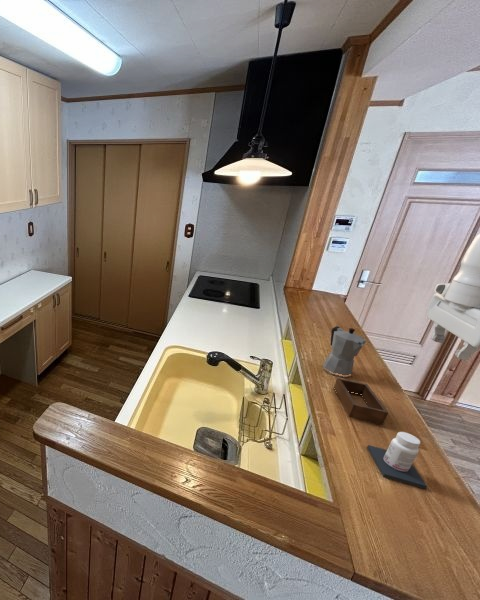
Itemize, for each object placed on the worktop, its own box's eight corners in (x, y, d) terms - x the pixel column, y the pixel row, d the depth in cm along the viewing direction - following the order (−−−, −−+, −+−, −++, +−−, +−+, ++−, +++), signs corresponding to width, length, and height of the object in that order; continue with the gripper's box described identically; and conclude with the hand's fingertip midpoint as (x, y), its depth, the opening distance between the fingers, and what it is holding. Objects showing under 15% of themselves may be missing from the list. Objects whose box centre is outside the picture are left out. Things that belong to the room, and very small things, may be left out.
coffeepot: (361, 382, 116) (380, 338, 110) (334, 380, 117) (351, 335, 111) (334, 360, 130) (349, 319, 124) (310, 358, 131) (323, 317, 125)
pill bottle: (412, 469, 79) (427, 442, 76) (402, 474, 77) (416, 447, 74) (389, 454, 83) (402, 428, 80) (378, 459, 81) (391, 433, 79)
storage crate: (362, 395, 109) (367, 384, 107) (383, 425, 95) (388, 412, 94) (333, 388, 112) (337, 377, 110) (348, 416, 98) (353, 404, 96)
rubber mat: (404, 457, 84) (405, 454, 83) (425, 489, 75) (427, 486, 75) (366, 447, 86) (368, 444, 86) (383, 476, 78) (384, 473, 77)
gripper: (532, 314, 64) (497, 374, 69) (464, 286, 82) (440, 335, 87) (489, 308, 66) (458, 366, 71) (432, 282, 84) (410, 330, 89)
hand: (447, 349), depth 79 cm, fingers open, 8 cm apart
